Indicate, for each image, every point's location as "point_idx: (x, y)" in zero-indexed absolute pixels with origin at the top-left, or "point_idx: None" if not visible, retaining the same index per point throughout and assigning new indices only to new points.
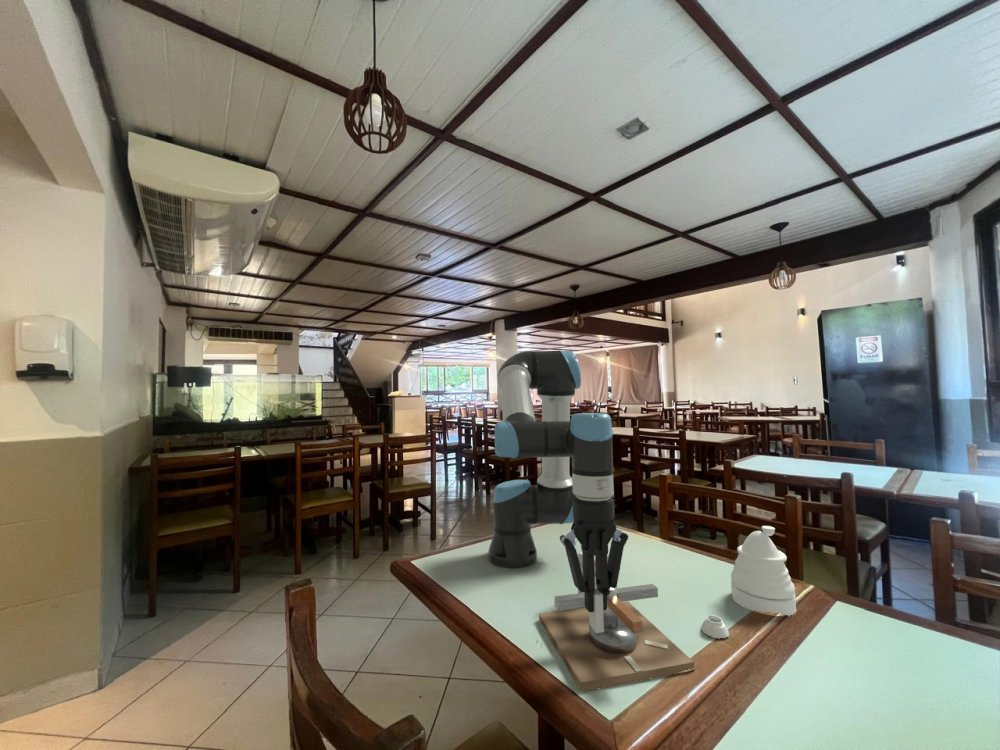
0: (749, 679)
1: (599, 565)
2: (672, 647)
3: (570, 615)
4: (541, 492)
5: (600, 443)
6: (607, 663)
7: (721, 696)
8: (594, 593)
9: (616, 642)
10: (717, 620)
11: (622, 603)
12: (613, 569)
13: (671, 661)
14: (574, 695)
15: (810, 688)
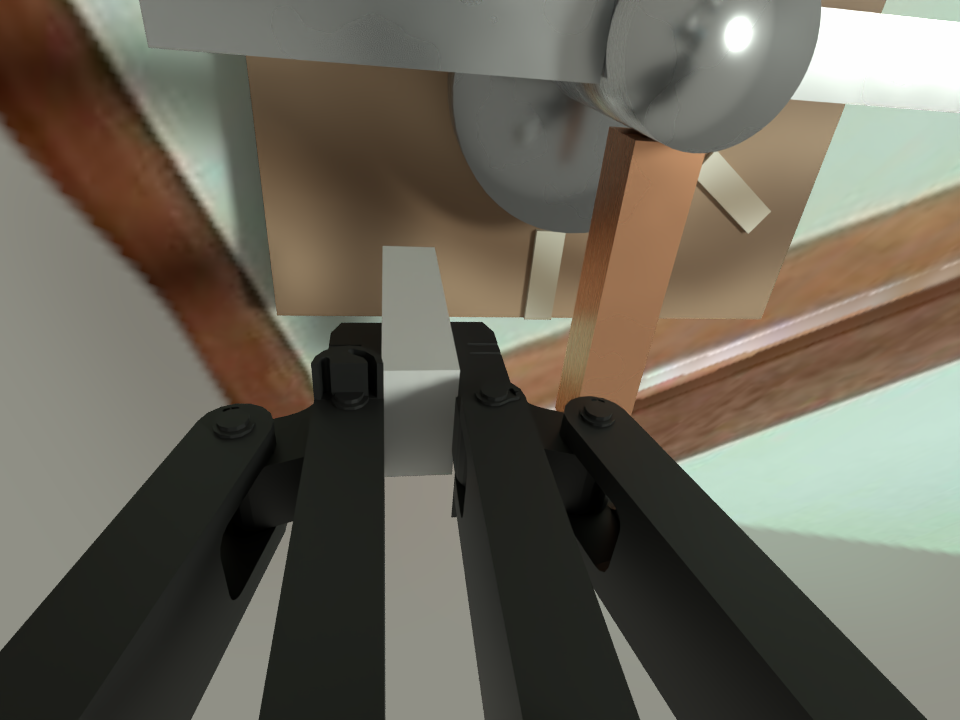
0: (845, 371)
1: (485, 667)
2: (775, 226)
3: None
4: None
5: None
6: (443, 242)
7: (707, 405)
8: (391, 452)
9: (529, 222)
10: None
11: (667, 256)
12: (625, 630)
13: (693, 296)
14: (251, 306)
15: (931, 426)
